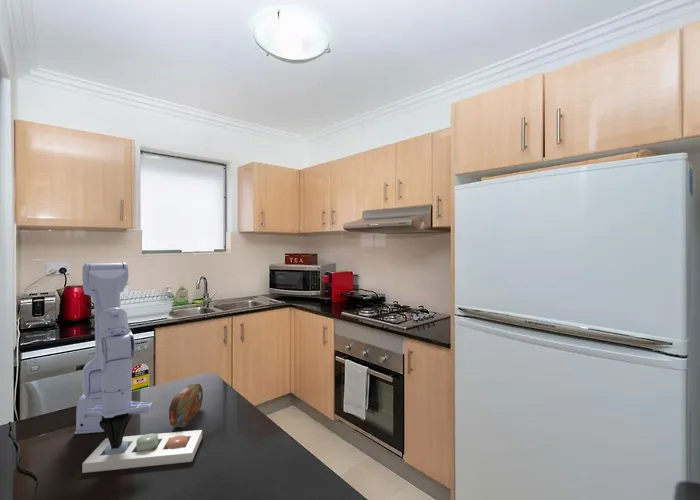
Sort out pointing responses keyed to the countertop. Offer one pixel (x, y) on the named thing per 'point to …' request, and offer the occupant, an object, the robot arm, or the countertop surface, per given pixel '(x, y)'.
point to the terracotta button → (177, 442)
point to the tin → (185, 405)
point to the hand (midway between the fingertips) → (116, 446)
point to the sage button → (147, 442)
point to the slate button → (116, 449)
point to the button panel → (143, 453)
